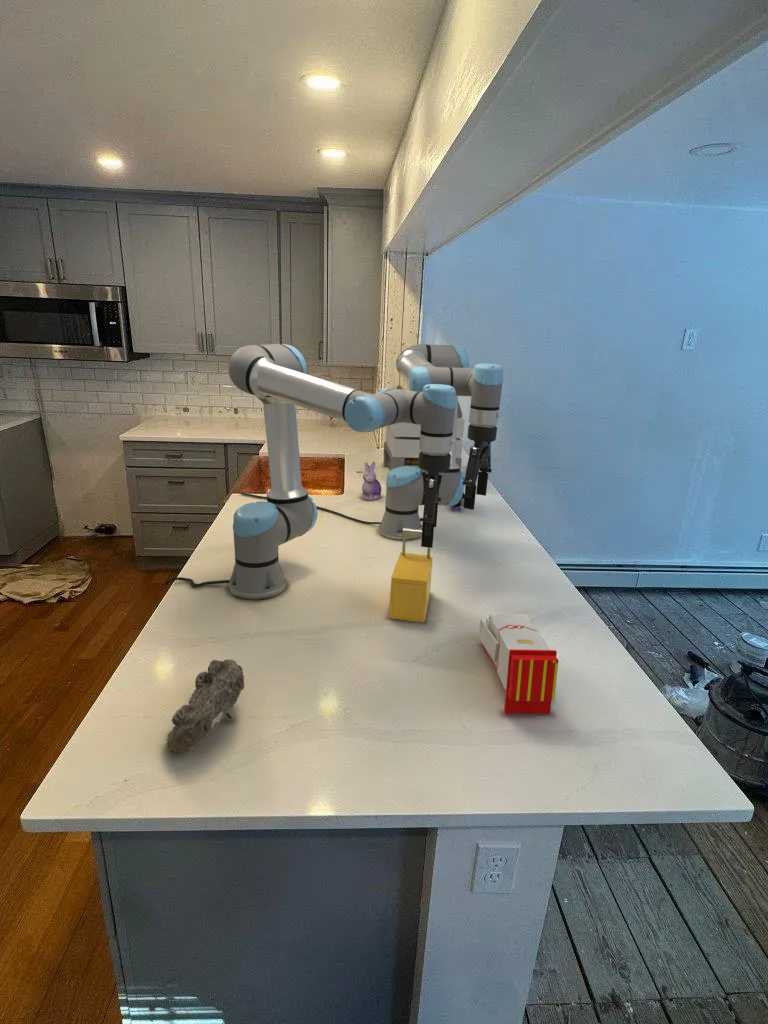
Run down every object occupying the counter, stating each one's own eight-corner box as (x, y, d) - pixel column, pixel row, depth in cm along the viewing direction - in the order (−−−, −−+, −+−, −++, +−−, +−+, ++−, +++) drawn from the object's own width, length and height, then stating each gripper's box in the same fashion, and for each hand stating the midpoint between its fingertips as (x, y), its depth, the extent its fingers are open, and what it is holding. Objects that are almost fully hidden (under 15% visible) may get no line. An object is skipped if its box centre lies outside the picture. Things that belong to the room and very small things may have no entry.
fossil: (192, 660, 117) (244, 628, 112) (224, 691, 120) (276, 661, 115) (142, 746, 98) (202, 712, 93) (182, 779, 101) (242, 748, 96)
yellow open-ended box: (398, 590, 160) (400, 556, 156) (429, 594, 159) (432, 560, 155) (389, 618, 145) (391, 581, 142) (424, 622, 144) (426, 585, 140)
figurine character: (465, 515, 224) (460, 499, 237) (467, 498, 221) (462, 483, 234) (448, 515, 224) (444, 499, 237) (450, 498, 220) (445, 482, 234)
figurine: (366, 502, 230) (367, 466, 225) (355, 494, 239) (356, 460, 234) (386, 499, 235) (388, 464, 229) (375, 492, 243) (377, 458, 238)
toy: (524, 600, 137) (567, 656, 108) (520, 651, 140) (560, 720, 111) (474, 599, 137) (504, 655, 107) (471, 650, 140) (498, 719, 110)
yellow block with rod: (400, 555, 157) (402, 525, 154) (432, 559, 155) (435, 528, 152) (391, 581, 142) (392, 548, 139) (426, 585, 140) (429, 552, 137)
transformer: (382, 463, 289) (386, 382, 275) (445, 464, 293) (451, 384, 279) (390, 482, 257) (394, 392, 243) (460, 483, 261) (468, 394, 247)
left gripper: (448, 467, 121) (441, 557, 128) (453, 442, 144) (446, 520, 151) (413, 464, 122) (408, 554, 129) (423, 439, 145) (418, 517, 152)
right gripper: (486, 435, 136) (477, 517, 144) (506, 419, 158) (498, 491, 165) (455, 431, 139) (448, 512, 146) (480, 416, 161) (473, 487, 168)
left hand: (429, 536), depth 140 cm, fingers open, 13 cm apart
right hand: (475, 501), depth 156 cm, fingers open, 13 cm apart
